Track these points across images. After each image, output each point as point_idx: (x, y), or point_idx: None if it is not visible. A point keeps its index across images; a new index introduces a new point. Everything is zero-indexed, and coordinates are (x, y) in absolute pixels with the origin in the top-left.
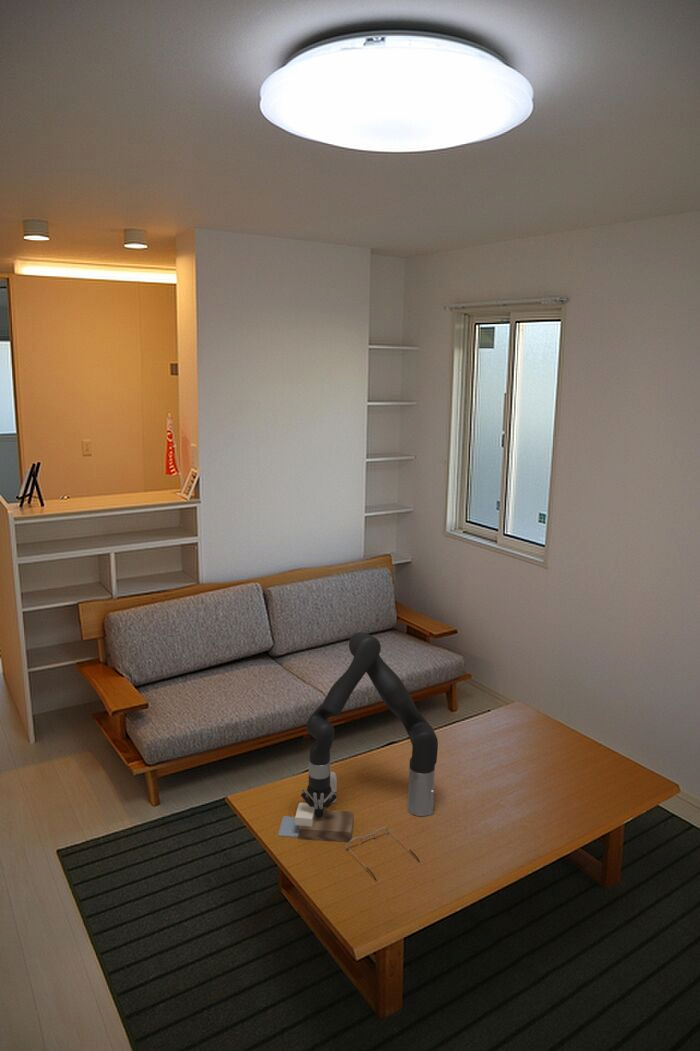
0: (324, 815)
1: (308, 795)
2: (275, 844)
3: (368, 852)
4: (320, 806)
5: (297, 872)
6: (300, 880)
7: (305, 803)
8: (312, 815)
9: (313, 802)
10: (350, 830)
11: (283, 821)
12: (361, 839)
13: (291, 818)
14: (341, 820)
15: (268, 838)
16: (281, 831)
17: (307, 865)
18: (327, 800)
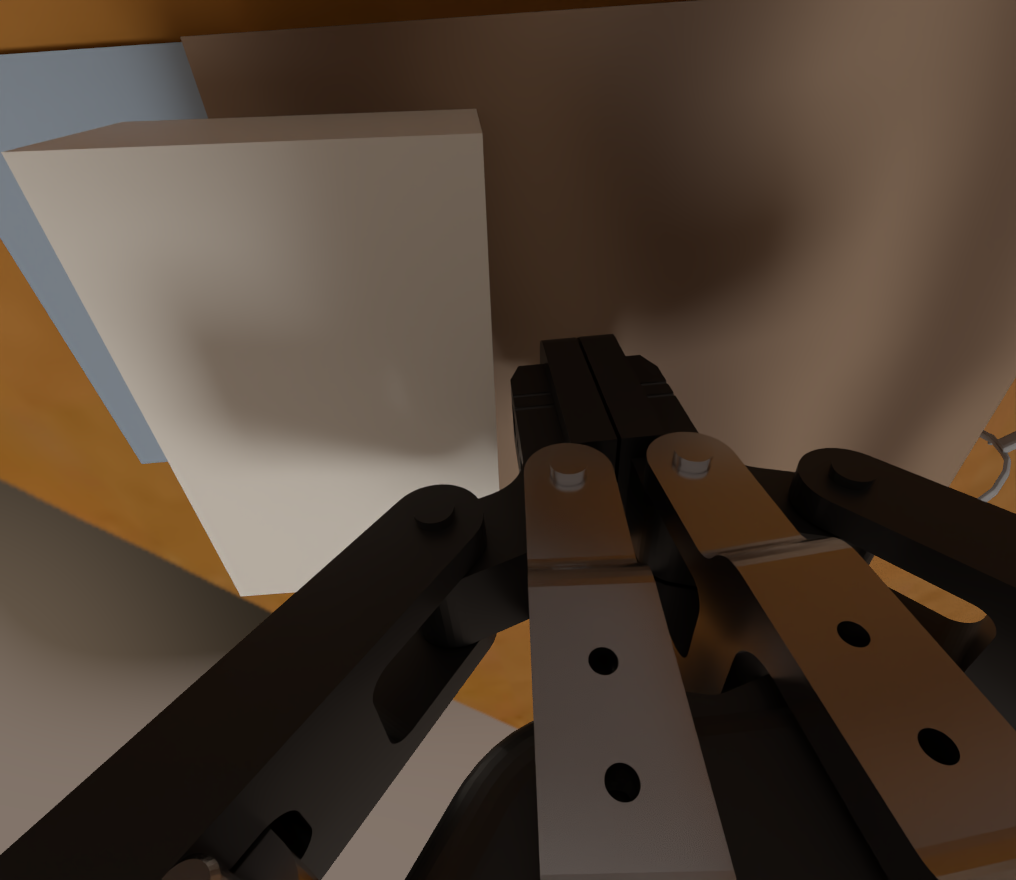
0: (648, 225)
1: (293, 761)
2: (200, 548)
3: (971, 490)
4: (667, 597)
5: (472, 692)
6: (503, 721)
7: (193, 171)
8: None
9: (497, 601)
10: (950, 467)
11: (13, 215)
12: (994, 442)
13: (71, 105)
14: (905, 303)
15: (83, 501)
16: (136, 408)
17: (519, 650)
18: (914, 571)
